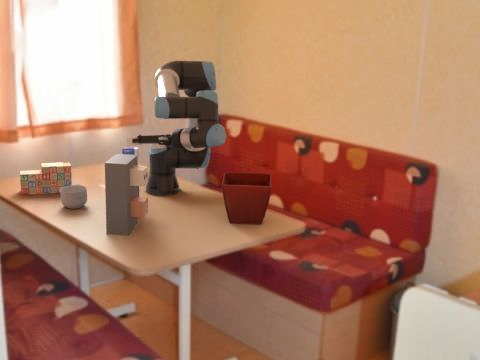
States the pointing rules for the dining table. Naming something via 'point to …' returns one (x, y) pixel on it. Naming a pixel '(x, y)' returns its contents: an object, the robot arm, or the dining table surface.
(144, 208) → the lower button
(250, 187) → the plant pot
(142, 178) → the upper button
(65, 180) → the stack of blocks
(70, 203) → the teacup
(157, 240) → the dining table surface
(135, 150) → the walkman
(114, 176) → the button post
